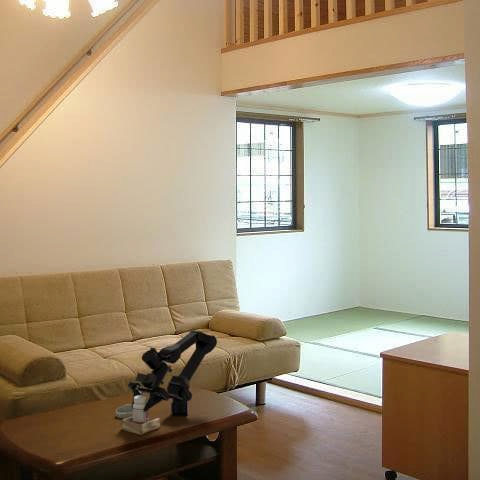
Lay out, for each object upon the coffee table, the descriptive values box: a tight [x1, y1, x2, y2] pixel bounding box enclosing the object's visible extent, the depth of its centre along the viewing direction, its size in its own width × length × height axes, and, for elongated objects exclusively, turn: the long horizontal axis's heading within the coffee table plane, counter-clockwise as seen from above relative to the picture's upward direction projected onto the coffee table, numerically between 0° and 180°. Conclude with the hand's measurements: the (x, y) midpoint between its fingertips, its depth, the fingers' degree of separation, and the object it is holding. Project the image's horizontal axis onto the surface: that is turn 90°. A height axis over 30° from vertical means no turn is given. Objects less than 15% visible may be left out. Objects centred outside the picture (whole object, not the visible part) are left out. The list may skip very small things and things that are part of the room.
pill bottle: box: [133, 394, 150, 425], centre depth 265 cm, size 6×6×11 cm
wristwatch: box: [115, 403, 133, 419], centre depth 280 cm, size 9×6×5 cm
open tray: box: [120, 416, 161, 436], centre depth 265 cm, size 11×11×4 cm
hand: (138, 409), depth 264 cm, fingers closed on pill bottle, 6 cm apart
